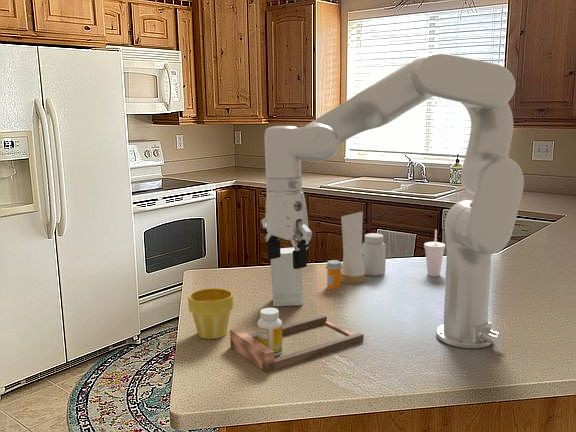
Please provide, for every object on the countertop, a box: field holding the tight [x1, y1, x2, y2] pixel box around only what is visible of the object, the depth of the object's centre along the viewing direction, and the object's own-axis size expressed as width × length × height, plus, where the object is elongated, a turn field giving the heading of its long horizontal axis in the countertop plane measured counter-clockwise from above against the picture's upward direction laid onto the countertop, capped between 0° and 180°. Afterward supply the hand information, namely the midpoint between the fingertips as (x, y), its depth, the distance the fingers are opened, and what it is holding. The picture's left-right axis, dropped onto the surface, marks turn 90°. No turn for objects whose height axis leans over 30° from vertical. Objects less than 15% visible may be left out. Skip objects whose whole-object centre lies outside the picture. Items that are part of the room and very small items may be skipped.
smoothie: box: [423, 229, 446, 277], centre depth 177 cm, size 6×6×14 cm
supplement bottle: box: [256, 307, 283, 358], centre depth 124 cm, size 5×5×10 cm
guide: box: [229, 314, 365, 373], centre depth 129 cm, size 15×26×4 cm, turn 124°
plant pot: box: [187, 287, 234, 340], centre depth 135 cm, size 10×10×10 cm
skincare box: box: [270, 246, 304, 307], centre depth 154 cm, size 8×6×15 cm
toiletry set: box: [325, 211, 387, 290], centre depth 173 cm, size 25×8×21 cm, turn 135°
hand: (286, 262), depth 125 cm, fingers open, 9 cm apart
